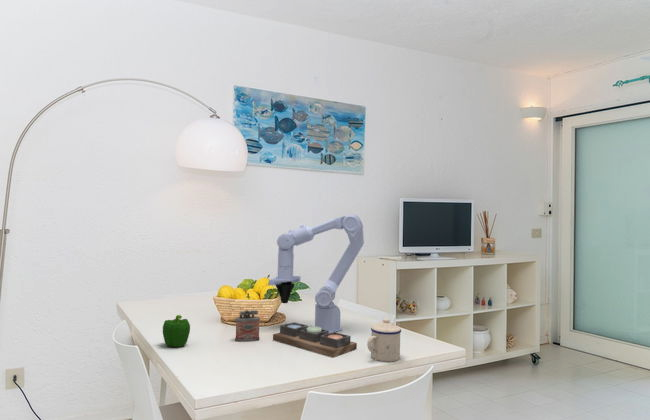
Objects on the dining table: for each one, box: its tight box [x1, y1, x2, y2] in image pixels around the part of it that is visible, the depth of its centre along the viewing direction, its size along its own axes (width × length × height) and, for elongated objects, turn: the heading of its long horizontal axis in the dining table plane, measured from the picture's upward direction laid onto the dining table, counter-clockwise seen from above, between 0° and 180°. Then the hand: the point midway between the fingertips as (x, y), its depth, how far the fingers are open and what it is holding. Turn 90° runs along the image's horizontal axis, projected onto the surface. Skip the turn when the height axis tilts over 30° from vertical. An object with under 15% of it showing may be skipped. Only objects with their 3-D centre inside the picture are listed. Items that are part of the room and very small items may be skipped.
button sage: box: [307, 325, 321, 334], centre depth 156 cm, size 5×5×2 cm
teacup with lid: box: [366, 318, 402, 363], centre depth 144 cm, size 12×9×12 cm
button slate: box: [287, 325, 301, 329], centre depth 162 cm, size 5×5×2 cm
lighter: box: [234, 309, 261, 343], centre depth 159 cm, size 8×3×10 cm, turn 105°
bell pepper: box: [162, 314, 191, 348], centre depth 151 cm, size 8×8×10 cm
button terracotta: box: [328, 335, 343, 339], centre depth 150 cm, size 5×5×2 cm
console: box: [272, 321, 358, 358], centre depth 156 cm, size 12×26×5 cm, turn 50°
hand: (284, 302), depth 176 cm, fingers closed
